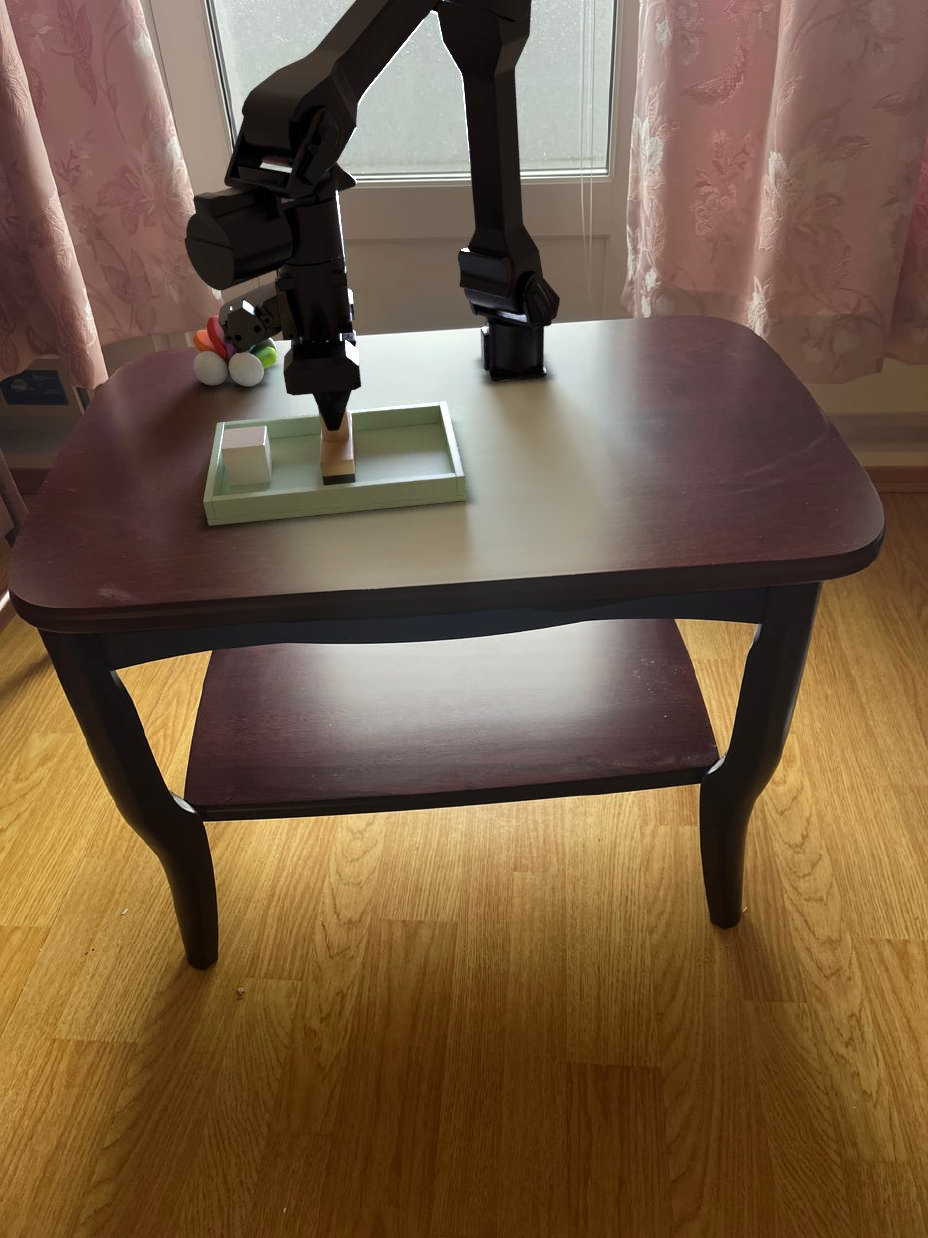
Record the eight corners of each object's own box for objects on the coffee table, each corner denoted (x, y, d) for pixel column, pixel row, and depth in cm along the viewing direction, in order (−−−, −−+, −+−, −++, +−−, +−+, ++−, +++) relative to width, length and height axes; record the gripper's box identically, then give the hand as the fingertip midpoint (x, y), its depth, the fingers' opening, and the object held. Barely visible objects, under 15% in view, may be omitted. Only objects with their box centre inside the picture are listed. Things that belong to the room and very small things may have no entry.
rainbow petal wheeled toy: (213, 359, 116) (201, 300, 111) (290, 361, 114) (280, 302, 110) (187, 389, 109) (172, 328, 105) (267, 392, 108) (256, 330, 103)
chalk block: (272, 462, 94) (266, 425, 91) (271, 482, 91) (264, 445, 88) (232, 465, 94) (224, 429, 91) (229, 486, 91) (220, 449, 88)
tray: (447, 423, 100) (446, 401, 98) (466, 500, 88) (464, 475, 86) (221, 445, 98) (216, 422, 97) (208, 526, 86) (202, 501, 85)
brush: (324, 490, 89) (310, 401, 83) (325, 440, 96) (312, 356, 91) (356, 487, 89) (344, 398, 83) (354, 437, 97) (343, 353, 91)
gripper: (222, 229, 87) (252, 388, 97) (204, 301, 72) (241, 480, 82) (343, 220, 88) (361, 378, 97) (350, 289, 73) (370, 467, 83)
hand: (333, 422), depth 90 cm, fingers closed on brush, 2 cm apart
